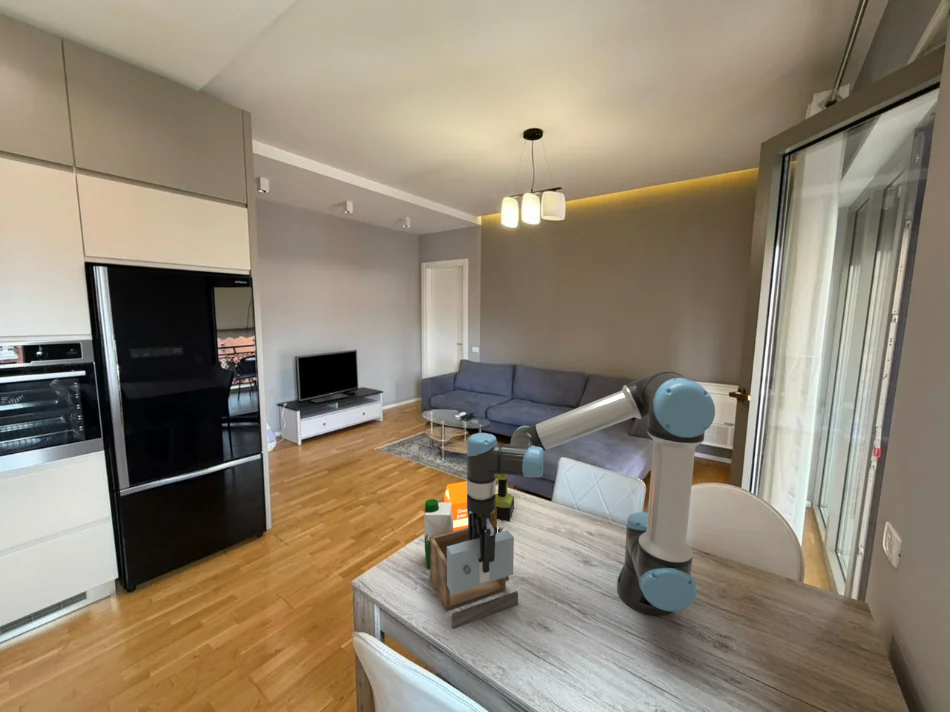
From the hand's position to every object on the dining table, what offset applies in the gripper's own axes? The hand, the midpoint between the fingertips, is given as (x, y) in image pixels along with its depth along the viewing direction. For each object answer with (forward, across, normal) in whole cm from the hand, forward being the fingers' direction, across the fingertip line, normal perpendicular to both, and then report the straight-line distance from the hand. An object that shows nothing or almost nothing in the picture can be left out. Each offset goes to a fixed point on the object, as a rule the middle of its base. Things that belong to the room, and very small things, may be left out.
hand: (480, 575), depth 103 cm
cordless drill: (+9, +43, -31) cm, 54 cm away
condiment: (+9, +31, -18) cm, 37 cm away
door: (+1, 0, 0) cm, 1 cm away
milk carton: (+9, +23, +4) cm, 25 cm away
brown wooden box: (+9, +7, 0) cm, 11 cm away
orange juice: (+9, +33, -7) cm, 35 cm away
